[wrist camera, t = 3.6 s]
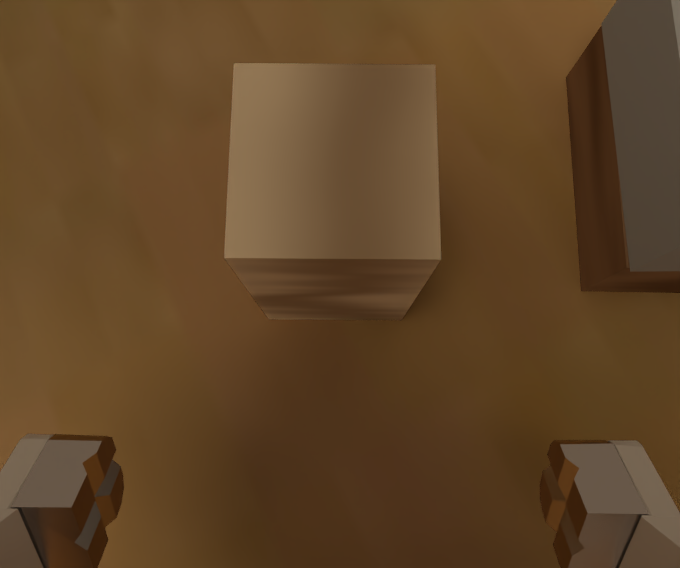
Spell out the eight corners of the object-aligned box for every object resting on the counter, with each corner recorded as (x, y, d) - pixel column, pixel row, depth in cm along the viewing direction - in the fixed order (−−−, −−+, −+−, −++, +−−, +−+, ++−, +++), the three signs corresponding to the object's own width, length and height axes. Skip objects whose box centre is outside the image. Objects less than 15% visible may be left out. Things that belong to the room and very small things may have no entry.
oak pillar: (268, 319, 23) (224, 257, 14) (272, 194, 24) (233, 63, 15) (401, 320, 23) (441, 259, 14) (399, 194, 24) (435, 64, 15)
